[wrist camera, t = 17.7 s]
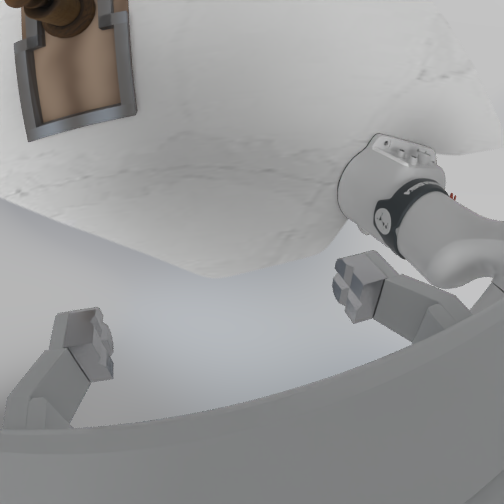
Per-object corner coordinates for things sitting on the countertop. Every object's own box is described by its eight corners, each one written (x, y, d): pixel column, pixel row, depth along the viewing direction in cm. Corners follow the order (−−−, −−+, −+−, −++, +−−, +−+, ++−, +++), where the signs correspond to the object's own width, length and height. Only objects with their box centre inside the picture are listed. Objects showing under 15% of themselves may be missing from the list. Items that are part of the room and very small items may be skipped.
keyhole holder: (127, -39, 24) (125, -47, 21) (136, 110, 36) (135, 115, 33) (22, -9, 21) (12, -14, 18) (37, 135, 33) (28, 142, 30)
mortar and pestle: (36, 23, 24) (-35, 9, 10) (70, -18, 23) (20, -61, 8) (72, 47, 28) (15, 41, 14) (106, 6, 26) (74, -32, 12)
